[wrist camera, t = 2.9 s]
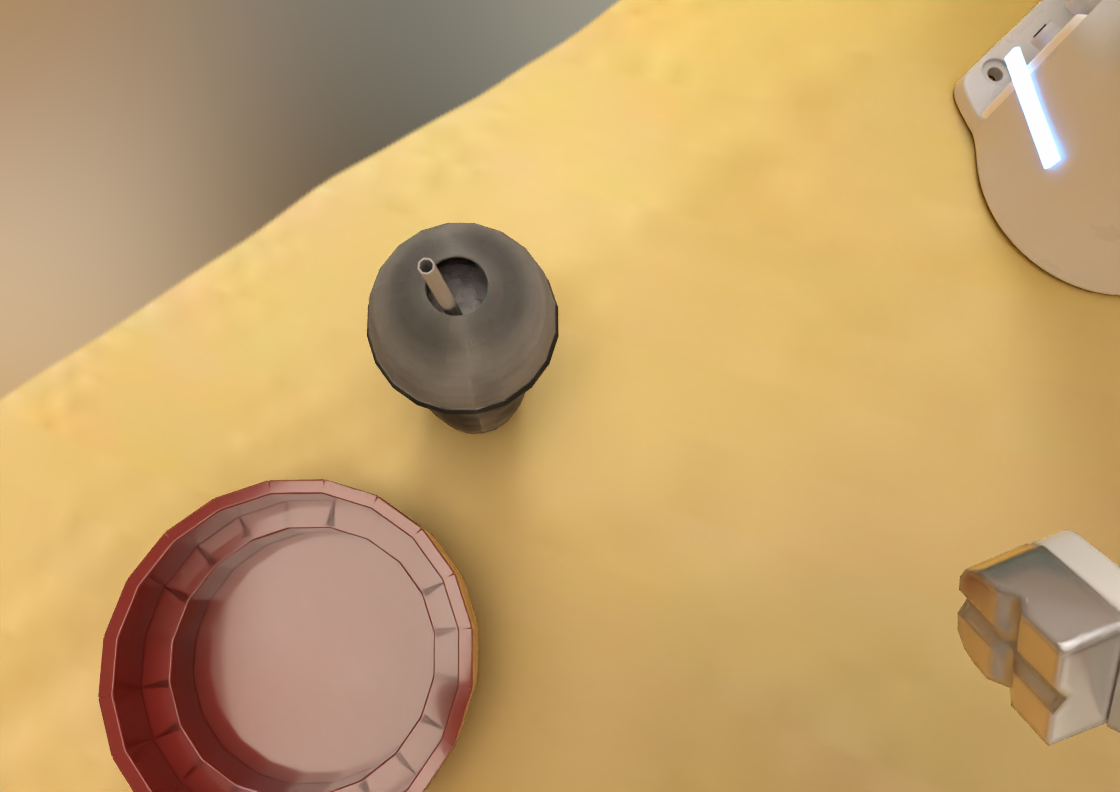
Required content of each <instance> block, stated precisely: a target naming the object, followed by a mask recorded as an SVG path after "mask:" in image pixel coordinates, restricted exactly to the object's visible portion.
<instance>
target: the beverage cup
mask: <svg viewBox="0 0 1120 792" xmlns="http://www.w3.org/2000/svg"><path fill="white" fill-rule="evenodd" d="M367 337H368V341H369V344H370V347H371V350H372V354H373V357H374V360H375V364H376V365H377V366H378V368H379V369H380V370H381V372H382V373H383V375H384V376H385V377H386V379H387V380H388V382H389V383H390V384H391V386H392V387H393V388H394V389H396V390H397V391H398V392H400V393H401V394H403V395H404V396H405V397H407V398H408V399H409V400H411V401H412V402H414V403H415V404H416V405H419V406H422V407H425V408H428V409H430V410H431V411H432V412H433V413H434V414H435V415H436V416H437V417H438V418H440V419H441V420H443V421H444V422H445V423H447V424H448V425H449V426H451V427H453V428H455V429H457V430H460V431H463V432H466V433H485V432H488V431H492V430H495V429H497V428H498V427H500V426H501V425H503V424H504V423H505V422H507V421H508V420H509V419H510V417H511V416H512V415H513V413H514V412H515V411H516V409H517V408H518V407H519V405H520V403H521V401H522V399H523V397H524V394H525V392H526V391H527V390H529V389H530V388H532V386H533V385H534V384H535V382H536V381H537V380H538V378H539V377H540V376H541V374H542V373H543V372H544V370H545V369H546V368H547V366H548V365H549V363H550V360H551V357H552V354H553V351H554V348H555V345H556V342H557V339H558V306H557V303H556V300H555V298H554V295H553V292H552V289H551V286H550V283H549V281H548V279H547V278H546V276H545V274H544V272H543V270H542V269H541V268H540V266H539V265H538V264H537V262H536V261H535V260H534V259H533V257H532V256H531V255H530V253H529V252H528V251H527V249H526V248H524V247H523V246H522V245H520V244H519V243H517V242H516V241H514V240H513V239H511V238H510V237H509V236H507V235H506V234H504V233H503V232H500V231H498V230H494V229H491V228H488V227H485V226H482V225H478V224H475V223H446V224H443V225H439V226H436V227H432V228H429V229H425V230H422V231H420V232H419V233H417V234H416V235H414V236H413V237H411V238H410V239H408V240H407V241H405V242H404V243H402V244H400V245H399V246H398V247H397V248H396V250H395V251H394V252H393V253H392V255H391V256H390V257H389V258H388V259H387V261H386V262H385V263H384V264H383V265H382V267H381V268H380V270H379V273H378V275H377V278H376V280H375V283H374V286H373V288H372V291H371V293H370V298H369V305H368V322H367Z"/></svg>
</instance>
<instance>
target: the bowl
mask: <svg viewBox="0 0 1120 792" xmlns="http://www.w3.org/2000/svg"><path fill="white" fill-rule="evenodd" d="M104 636H105V637H104V639H103V651H102V662H101V673H100V685H99V703H100V707H101V712H102V716H103V720H104V725H105V729H106V733H107V738H108V742H109V746H110V751H111V755H112V756H113V760H114V761H115V763H116V764H117V766H118V768H119V769H120V771H121V772H122V774H123V775H124V777H125V779H126V780H127V782H128V783H129V785H130V787H131V788H132V790H133V791H134V792H424V791H425V790H426V788H427V787H428V785H429V784H430V782H431V781H432V779H433V778H434V776H435V775H436V773H437V772H438V770H439V769H440V767H441V766H442V764H443V763H444V761H445V760H446V759H447V757H448V756H449V754H450V753H451V751H452V750H453V748H454V746H455V744H456V741H457V739H458V736H459V734H460V731H461V729H462V726H463V723H464V720H465V717H466V714H467V710H468V707H469V704H470V701H471V697H472V694H473V691H474V688H475V684H476V681H477V676H478V624H477V619H476V616H475V613H474V610H473V607H472V604H471V601H470V597H469V594H468V591H467V588H466V585H465V582H464V579H463V577H462V575H461V573H460V572H459V570H458V569H457V568H456V566H455V565H454V563H453V562H452V561H451V559H450V558H449V556H448V555H447V554H446V552H445V551H444V550H443V548H442V547H441V545H440V544H439V543H438V541H437V540H436V539H435V537H433V535H432V534H430V533H429V532H428V531H426V530H425V529H424V528H422V527H421V526H420V525H418V524H417V523H415V522H414V521H413V520H411V519H410V518H408V517H407V516H406V515H404V514H403V513H401V512H400V511H399V510H397V509H396V508H394V507H393V506H392V505H390V504H389V503H387V502H386V501H385V500H383V499H382V498H380V497H378V496H377V495H374V494H371V493H368V492H364V491H361V490H358V489H355V488H351V487H348V486H345V485H342V484H338V483H335V482H332V481H329V480H323V479H320V480H270V481H265V482H262V483H259V484H256V485H253V486H250V487H247V488H244V489H241V490H238V491H235V492H232V493H229V494H226V495H222V496H219V497H216V498H215V499H212V500H211V501H209V502H208V503H206V504H205V505H204V506H202V507H201V508H199V509H198V510H196V511H195V512H194V513H192V514H191V515H189V516H188V517H186V518H185V519H183V520H182V521H181V522H179V523H178V524H176V525H175V526H173V527H172V528H171V529H169V530H168V531H166V533H164V534H163V536H162V537H161V538H160V539H159V541H158V542H157V543H156V544H155V546H154V547H153V548H152V549H151V551H150V552H149V553H148V554H147V555H146V557H145V558H144V559H143V560H142V562H141V563H140V564H139V565H138V567H137V568H136V569H135V570H134V572H133V573H132V574H131V575H130V577H129V578H128V580H127V581H126V583H125V586H124V588H123V591H122V593H121V596H120V598H119V601H118V603H117V606H116V608H115V610H114V613H113V615H112V618H111V620H110V623H109V625H108V628H107V630H106V633H105V635H104Z"/></svg>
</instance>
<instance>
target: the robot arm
mask: <svg viewBox="0 0 1120 792" xmlns="http://www.w3.org/2000/svg"><path fill="white" fill-rule="evenodd" d="M988 75H991V76H993V77H994V78H995V80H996V81H993V80H991V79H990V78H989V76H988ZM954 96H955V100H956V103H957V106H958V108H959V110H960V112H961V114H962V116H963V118H964V120H965V121H966V123H967V125H968V127H969V128H970V130H971V132H972V134H973V138H974V142H975V148H976V158H977V168H978V175H979V180H980V184H981V188H982V191H983V194H984V197H985V199H986V202H987V204H988V206H989V208H990V210H991V212H992V214H993V216H994V218H995V219H996V221H997V223H998V224H999V226H1000V227H1001V229H1002V230H1003V232H1004V233H1005V234H1006V235H1007V237H1008V238H1009V239H1010V240H1011V242H1012V243H1013V244H1014V245H1015V246H1016V247H1017V248H1018V249H1019V250H1020V251H1021V252H1022V253H1023V254H1024V255H1025V256H1026V257H1028V258H1029V259H1030V260H1031V261H1032V262H1034V263H1035V264H1036V265H1038V266H1039V267H1040V268H1042V269H1043V270H1045V271H1046V272H1048V273H1050V274H1051V275H1053V276H1055V277H1057V278H1059V279H1061V280H1063V281H1065V282H1067V283H1069V284H1072V285H1074V286H1077V287H1080V288H1082V289H1086V290H1089V291H1093V292H1098V293H1103V294H1109V295H1120V0H1041V1H1040V2H1039V3H1038V4H1037V5H1036V6H1035V7H1034V8H1033V9H1032V10H1031V11H1030V12H1029V13H1028V14H1026V15H1025V16H1024V17H1023V18H1022V19H1021V20H1020V21H1019V22H1018V23H1017V24H1016V25H1015V26H1014V27H1013V28H1012V29H1011V30H1010V31H1009V32H1008V33H1007V34H1006V35H1005V36H1003V37H1002V38H1001V39H1000V40H999V41H998V42H997V43H996V44H995V45H994V46H993V47H992V48H991V49H990V50H989V51H988V52H987V53H986V54H985V55H984V56H983V57H982V58H980V59H979V60H978V61H977V62H976V63H975V64H974V65H973V66H972V67H971V68H970V69H969V70H968V71H967V72H966V73H965V74H964V75H963V76H962V77H961V78H960V79H959V80H958V81H957V83H956V84H955V87H954ZM959 590H960V591H961V592H962V593H963V594H964V595H965V597H966V598H967V600H966V601H965V603H964V604H963V606H962V607H961V609H960V610H959V612H958V632H959V635H960V638H961V640H962V643H963V646H964V648H965V650H966V652H967V653H968V655H969V656H970V658H971V660H972V661H973V663H974V664H975V665H976V666H977V668H978V669H979V670H980V671H981V672H982V673H983V674H984V676H985V677H986V678H987V679H989V680H992V681H994V682H997V683H999V684H1002V685H1004V686H1007V687H1009V688H1010V698H1011V706H1012V707H1013V708H1014V709H1015V710H1016V711H1017V712H1018V713H1019V714H1020V716H1021V717H1022V718H1023V719H1024V720H1025V721H1026V722H1027V723H1028V724H1029V725H1030V727H1031V728H1032V729H1033V730H1034V731H1035V732H1036V733H1037V734H1038V735H1039V736H1040V738H1041V739H1042V740H1043V741H1044V742H1045V743H1046V744H1047V745H1048V746H1049V745H1052V744H1054V743H1057V742H1059V741H1062V740H1064V739H1067V738H1069V737H1072V736H1074V735H1077V734H1079V733H1082V732H1084V731H1087V730H1089V729H1092V728H1094V727H1097V726H1099V725H1102V724H1104V723H1107V722H1108V724H1107V727H1109V728H1111V729H1113V730H1115V731H1117V732H1119V733H1120V567H1119V566H1117V565H1116V564H1115V563H1114V562H1112V561H1111V560H1110V559H1109V558H1107V557H1106V556H1105V555H1104V554H1102V553H1101V552H1100V551H1099V550H1097V549H1096V548H1095V547H1094V546H1092V545H1091V544H1090V543H1089V542H1087V541H1086V540H1085V539H1084V538H1082V537H1081V536H1080V535H1078V534H1077V533H1075V532H1072V531H1069V530H1063V531H1059V532H1057V533H1054V534H1052V535H1050V536H1047V537H1045V538H1043V539H1040V540H1038V541H1036V542H1033V543H1031V544H1025V545H1022V546H1020V547H1018V548H1015V549H1013V550H1011V551H1008V552H1006V553H1003V554H1001V555H999V556H996V557H994V558H991V559H989V560H987V561H984V562H982V563H980V564H977V565H975V566H972V567H970V568H968V569H966V570H965V571H964V572H963V573H962V575H961V576H960V585H959Z"/></svg>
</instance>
